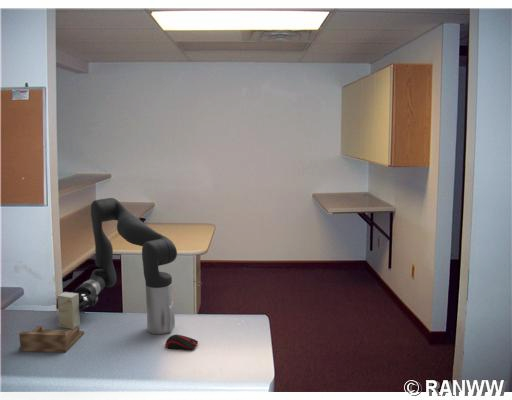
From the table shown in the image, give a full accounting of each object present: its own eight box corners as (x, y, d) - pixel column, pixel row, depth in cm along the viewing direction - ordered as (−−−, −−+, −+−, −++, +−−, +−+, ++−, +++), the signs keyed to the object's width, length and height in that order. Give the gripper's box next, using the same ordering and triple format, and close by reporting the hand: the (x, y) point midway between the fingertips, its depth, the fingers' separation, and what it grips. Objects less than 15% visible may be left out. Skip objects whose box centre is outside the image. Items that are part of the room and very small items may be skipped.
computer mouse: (194, 352, 164) (194, 341, 163) (162, 349, 166) (162, 338, 165) (199, 343, 170) (199, 332, 169) (169, 341, 172) (168, 330, 171)
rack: (84, 333, 177) (83, 317, 176) (65, 352, 163) (64, 335, 162) (40, 331, 178) (39, 316, 177) (19, 350, 164) (17, 333, 163)
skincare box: (58, 327, 182) (56, 295, 180) (66, 322, 186) (64, 291, 184) (73, 329, 180) (71, 297, 178) (81, 324, 185) (78, 293, 182)
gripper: (69, 282, 198) (49, 297, 182) (104, 283, 197) (87, 298, 181) (71, 300, 200) (51, 316, 184) (105, 301, 198) (88, 317, 182)
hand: (69, 307), depth 182 cm, fingers open, 8 cm apart
